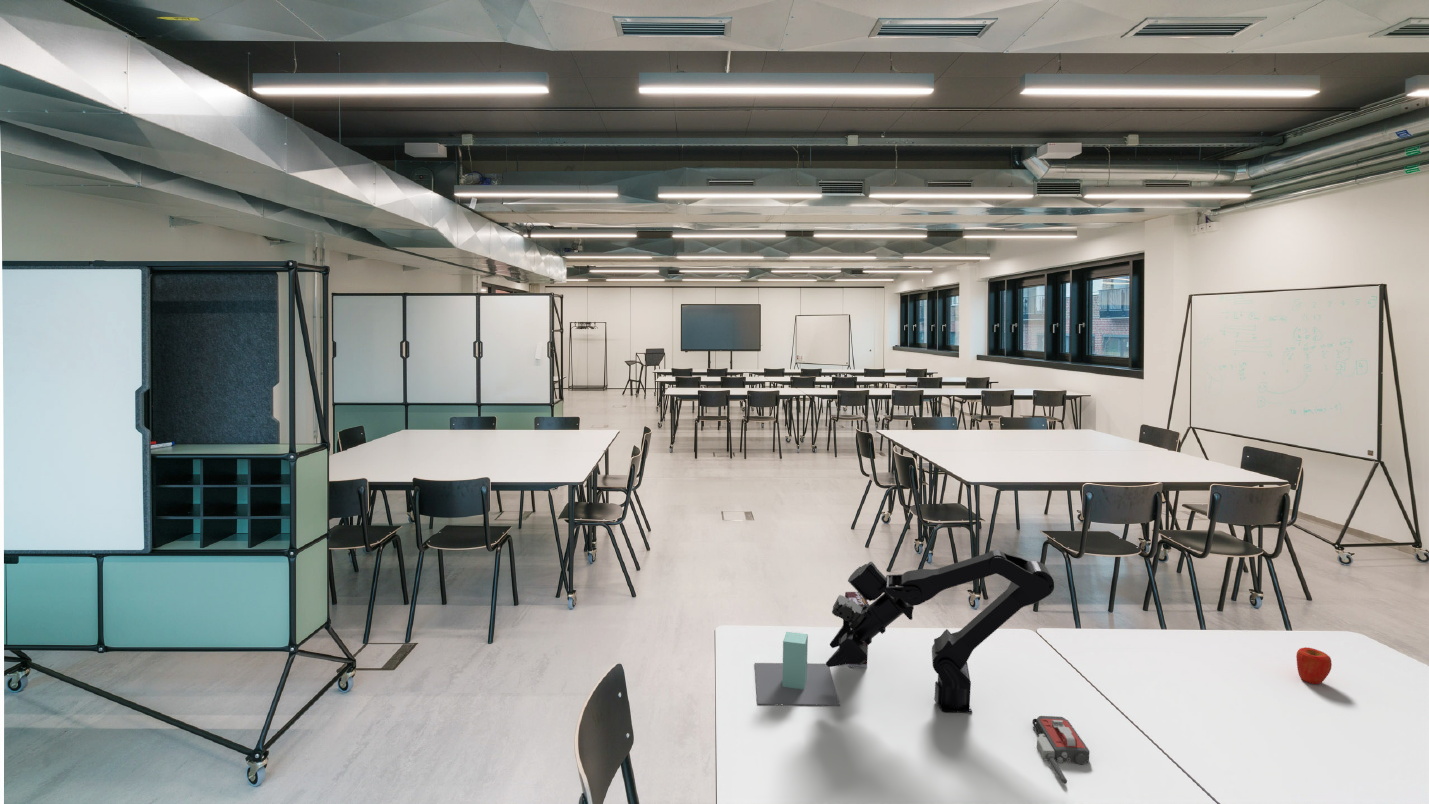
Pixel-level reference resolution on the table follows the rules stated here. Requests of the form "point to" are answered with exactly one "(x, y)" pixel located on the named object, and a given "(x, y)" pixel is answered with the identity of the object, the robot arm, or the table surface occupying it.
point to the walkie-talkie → (1059, 742)
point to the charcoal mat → (814, 693)
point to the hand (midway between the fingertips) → (829, 655)
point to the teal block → (795, 660)
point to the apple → (1313, 665)
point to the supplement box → (861, 601)
